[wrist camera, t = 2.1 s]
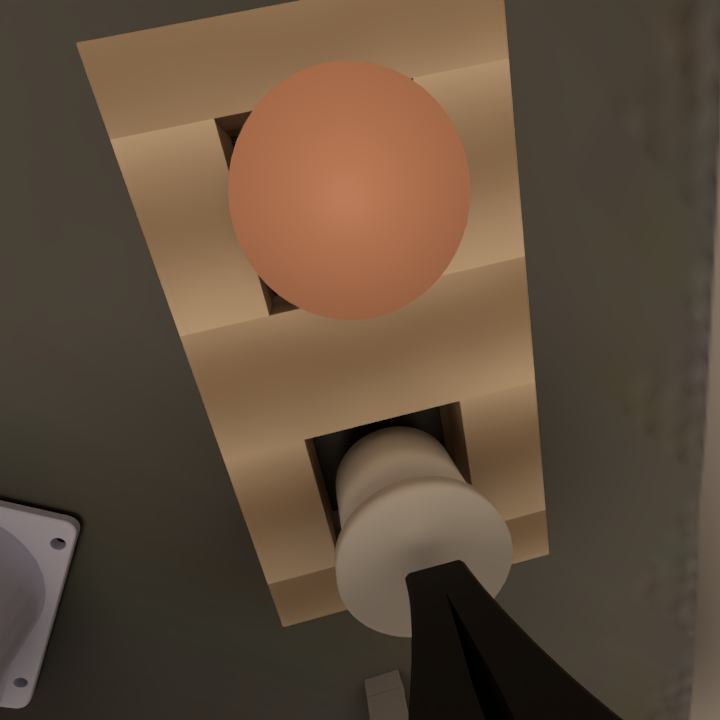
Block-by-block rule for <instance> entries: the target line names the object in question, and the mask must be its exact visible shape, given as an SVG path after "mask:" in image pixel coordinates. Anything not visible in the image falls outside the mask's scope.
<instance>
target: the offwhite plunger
mask: <svg viewBox="0 0 720 720" xmlns="http://www.w3.org/2000/svg"><path fill="white" fill-rule="evenodd" d="M335 488H336V495H337V502H338V509H339V516H340V523H341V532H340V534H339V536H338V540H337V543H336V548H335V570H336V579H337V585H338V590H339V594H340V596H341V599H342V601H343V603H344V605H345V606H346V608H347V609H348V610H349V612H350V613H351V614H352V615H353V616H354V617H355V618H356V619H357V620H358V621H360V622H361V623H363V624H364V625H366V626H367V627H369V628H371V629H373V630H375V631H378V632H381V633H384V634H388V635H393V636H399V637H412V629H411V611H410V601H409V595H408V590H407V586H406V581H405V577H406V576H407V575H408V574H409V573H411V572H415V571H419V570H422V569H426V568H430V567H433V566H437V565H441V564H445V563H448V562H452V561H456V560H461V561H463V562H464V563H465V564H466V565H467V567H468V568H469V569H470V571H471V572H472V573H473V575H474V576H475V577H476V578H477V580H478V581H479V582H480V583H481V585H482V586H483V587H484V588H485V589H486V591H487V592H488V593H489V594H490V595H491V596H492V597H493V599H494V598H495V597H496V595H497V594H498V593H499V591H500V590H501V588H502V586H503V585H504V583H505V581H506V579H507V576H508V574H509V571H510V567H511V564H512V556H513V546H512V540H511V535H510V532H509V530H508V527H507V525H506V523H505V522H504V520H503V518H502V517H501V515H500V514H499V512H498V511H497V509H496V508H495V506H494V505H493V504H492V502H491V501H490V500H489V499H488V498H487V496H485V495H484V494H483V493H482V492H481V491H480V490H478V489H476V488H475V487H473V486H472V485H470V484H467V483H466V482H465V480H464V479H463V477H462V475H461V474H460V472H459V471H458V469H457V467H456V466H455V464H454V463H453V461H452V459H451V458H450V456H449V455H448V453H447V451H446V450H445V448H444V447H443V446H442V444H441V443H440V442H439V441H438V440H437V439H436V438H435V437H433V436H432V435H430V434H429V433H426V432H424V431H422V430H419V429H416V428H412V427H403V426H397V427H388V428H383V429H380V430H377V431H374V432H372V433H370V434H368V435H366V436H364V437H363V438H361V439H360V440H359V441H357V442H356V443H355V444H354V445H353V446H352V447H351V448H350V449H349V450H348V451H347V452H346V454H345V455H344V457H343V458H342V460H341V462H340V464H339V467H338V470H337V473H336V480H335Z"/></svg>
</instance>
